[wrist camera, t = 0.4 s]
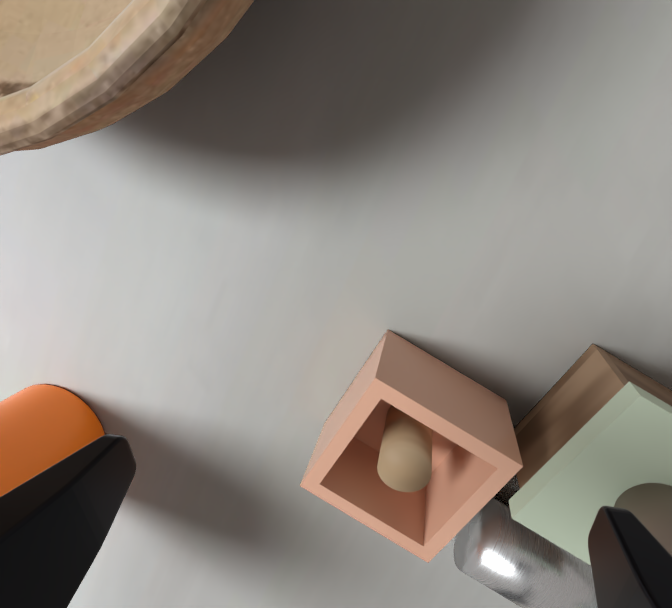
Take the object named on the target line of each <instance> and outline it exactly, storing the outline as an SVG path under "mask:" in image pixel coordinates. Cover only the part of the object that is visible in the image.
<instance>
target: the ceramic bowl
mask: <svg viewBox="0 0 672 608" xmlns="http://www.w3.org/2000/svg"><path fill="white" fill-rule="evenodd" d="M253 2H254V0H0V156H1V155H4V154H7V153H10V152H13V151H21V150H34V149H41V148H45V147H48V146H51V145H54V144H57V143H60V142H63V141H67V140H70V139H73V138H76V137H79V136H82V135H86V134H89V133H92V132H95V131H98V130H100V129H103V128H105V127H107V126H109V125H112V124H114V123H116V122H117V121H119V120H121V119H122V118H124V117H126V116H127V115H129V114H131V113H132V112H134V111H136V110H137V109H139V108H141V107H143V106H144V105H146V104H148V103H149V102H151V101H153V100H154V99H156V98H158V97H159V96H161V95H163V94H164V93H166V92H168V91H169V90H170V89H171V88H172V87H174V86H175V85H176V84H177V83H178V82H179V81H180V80H181V79H182V78H183V77H184V76H186V75H187V74H188V73H189V72H190V71H191V70H192V69H193V68H194V67H195V66H196V65H197V64H199V63H200V62H201V61H202V60H203V59H204V58H205V57H206V56H207V55H208V54H209V53H211V52H212V51H213V50H214V49H215V48H216V47H217V46H218V45H219V44H220V43H221V42H222V41H224V40H225V39H226V38H227V36H228V35H229V34H230V32H231V31H232V30H233V28H234V27H235V26H236V24H237V23H238V22H239V20H240V19H241V18H242V16H243V15H244V14H245V12H246V11H247V10H248V8H249V7H250V6H251V4H252V3H253Z"/></svg>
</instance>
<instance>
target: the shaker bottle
mask: <svg viewBox="0 0 672 608" xmlns="http://www.w3.org/2000/svg"><path fill="white" fill-rule="evenodd" d="M103 435H105V433H104V430H103V428H102V425H101V423H100V421H99V420H98V418H97V416H96V415H95V413H94V412H93V411H92V410H91V409H90V407H89V406H88V405H87V404H86V403H84V402H83V401H82V400H81V399H80V398H78V397H77V396H75V395H74V394H73V393H71V392H69V391H67V390H65V389H63V388H60V387H57V386H53V385H46V384H39V385H33V386H30V387H27V388H25V389H23V390H21V391H19V392H18V393H16V394H14V395H12V396H10V397H8V398H7V399H5V400H3V401H1V402H0V497H1V496H3V495H4V494H6V493H8V492H9V491H11V490H13V489H14V488H16V487H18V486H19V485H21V484H23V483H24V482H26V481H28V480H29V479H31V478H33V477H34V476H36V475H38V474H39V473H41V472H43V471H44V470H46V469H48V468H49V467H51V466H53V465H54V464H56V463H58V462H59V461H61V460H63V459H64V458H66V457H68V456H69V455H71V454H73V453H74V452H76V451H78V450H79V449H81V448H83V447H84V446H86V445H88V444H89V443H91V442H93V441H94V440H96V439H98V438H100V437H101V436H103Z"/></svg>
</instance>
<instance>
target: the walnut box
mask: <svg viewBox="0 0 672 608" xmlns="http://www.w3.org/2000/svg"><path fill="white" fill-rule="evenodd" d="M629 381H630V382H631V383H633V384H635V385H636V386H638V387H640V388H641V389H643V390H645V391H646V392H648V393H650V394H651V395H653V396H655V397H657V398H658V399H660V400H662V401H663V402H665V403H667V404H668V405H670V406H672V391H671V390H670V389H668V388H666V387H665V386H663V385H661V384H660V383H658V382H656V381H655V380H653V379H651V378H650V377H648V376H646V375H645V374H643V373H641V372H640V371H638V370H636V369H635V368H633V367H631V366H629V365H628V364H626V363H624V362H623V361H621V360H619V359H618V358H616V357H614V356H613V355H611V354H609V353H608V352H606V351H604V350H603V349H601V348H599V347H598V346H596V345H594V344H592V345H591V346H590V347H589V348H588V349H587V350H586V352H585V353H584V354H583V355H582V356H581V357H580V358H579V359H578V360H577V361H576V362H575V363H574V365H573V366H572V367H571V368H570V369H569V370H568V371H567V372H566V373H565V374H564V375H563V376H562V378H561V379H560V380H559V381H558V382H557V383H556V384H555V385H554V386H553V387H552V388H551V389H550V390H549V392H548V393H547V394H546V395H545V396H544V397H543V398H542V399H541V400H540V401H539V402H538V403H537V405H536V406H535V407H534V408H533V409H532V410H531V411H530V412H529V413H528V414H527V415H526V416H525V418H524V419H523V420H522V421H521V422H520V423H519V424H518V425H517V426H516V427H515V428H514V432H515V436H516V440H517V444H518V448H519V452H520V456H521V459H522V463H523V467H522V468H521V469H520V470H519V471H518V472H517V473H516V475H517V479H518V484H519V488H520V489H521V488H522V487H523V486H524V485H525V484H526V483H527V482H528V481H529V480H530V479H531V478H532V477H533V476H534V475H535V474H536V473H537V472H538V471H539V470H540V469H541V468H542V467H543V466H544V465H545V464H546V463H547V462H548V461H549V460H550V459H551V458H552V457H553V456H554V455H555V454H556V453H557V452H558V451H559V450H560V449H561V448H562V447H563V446H564V445H565V444H566V443H567V442H568V441H569V440H570V439H571V438H572V437H573V436H574V435H575V434H576V433H577V432H578V431H579V430H580V429H581V428H582V427H583V426H584V425H585V424H586V423H587V422H588V421H589V420H590V419H591V418H592V417H593V416H594V415H595V414H596V413H597V412H598V411H599V410H600V409H601V408H603V407H604V406H605V405H606V404H607V403H608V402H609V401H610V400H611V399H612V398H613V397H614V396H615V395H616V394H617V393H618V392H619V391H620V390H621V389H622V388H623V387H624V386H625V385H626V384H627V383H628V382H629Z"/></svg>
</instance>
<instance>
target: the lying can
mask: <svg viewBox="0 0 672 608" xmlns="http://www.w3.org/2000/svg"><path fill="white" fill-rule="evenodd" d="M454 560H455V564H456V566H457V568H458V569H459V570H460V571H462V572H463V573H465V574H467V575H468V576H470V577H472V578H473V579H475V580H477V581H478V582H480V583H482V584H483V585H485V586H487V587H488V588H490V589H492V590H493V591H495V592H497V593H498V594H500V595H502V596H503V597H505V598H507V599H508V600H510V601H512V602H513V603H515V604H517V605H519V606H520V607H522V608H598V607H597V601H596V594H595V588H594V582H593V575H592V569H591V565H589V564H587V563H586V562H584V561H582V560H581V559H579V558H577V557H576V556H574V555H572V554H571V553H569V552H567V551H566V550H564V549H562V548H561V547H559V546H557V545H556V544H554V543H552V542H551V541H549V540H547V539H546V538H544V537H542V536H541V535H539V534H537V533H536V532H534V531H532V530H531V529H529V528H527V527H525V526H524V525H522V524H520V523H519V522H517V521H515V520H514V519H512V517H511V511H510V507H508V506H506V505H505V504H503V503H501V502H499V501H498V500H496V499H494V498H492V499H491V500H490V501H489V502H488V503H487V504H486V505H485V506H484V507H483V508H482V509H481V510H480V511H479V512H478V513H477V514H476V515H475V516H474V517H473V518H472V519H471V520H470V521H469V522H468V523H467V524H466V525H465V526H464V527H463V528H462V529H461V530H460V531H459V532H458V533H457V534H456V538H455V543H454Z"/></svg>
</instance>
